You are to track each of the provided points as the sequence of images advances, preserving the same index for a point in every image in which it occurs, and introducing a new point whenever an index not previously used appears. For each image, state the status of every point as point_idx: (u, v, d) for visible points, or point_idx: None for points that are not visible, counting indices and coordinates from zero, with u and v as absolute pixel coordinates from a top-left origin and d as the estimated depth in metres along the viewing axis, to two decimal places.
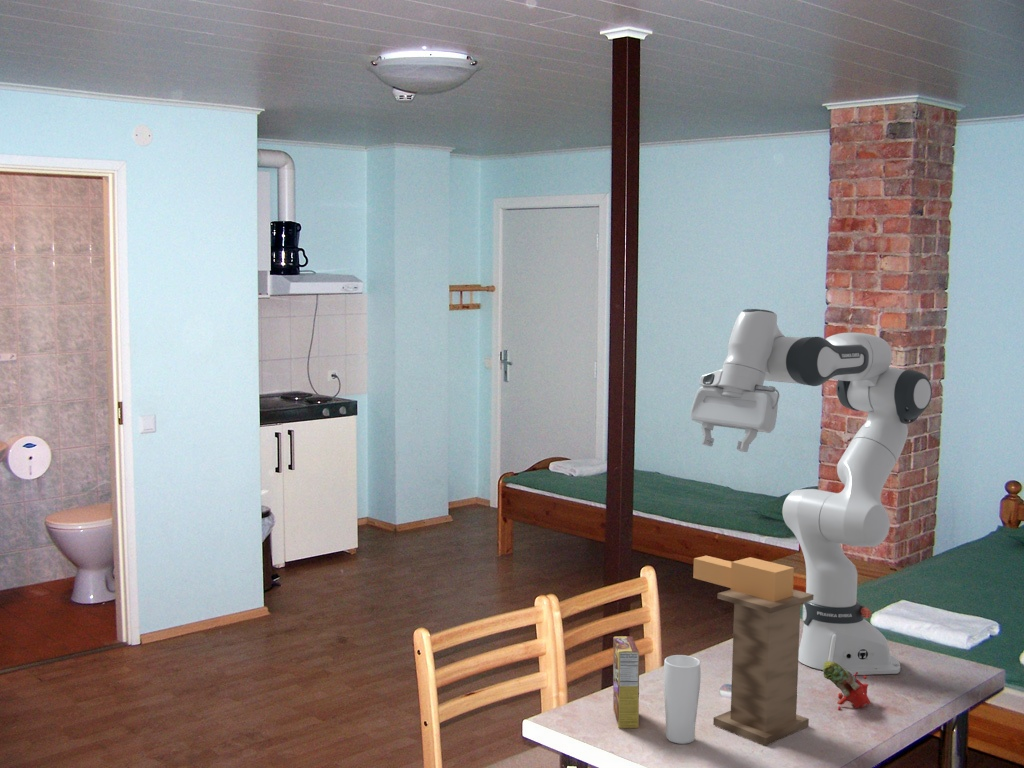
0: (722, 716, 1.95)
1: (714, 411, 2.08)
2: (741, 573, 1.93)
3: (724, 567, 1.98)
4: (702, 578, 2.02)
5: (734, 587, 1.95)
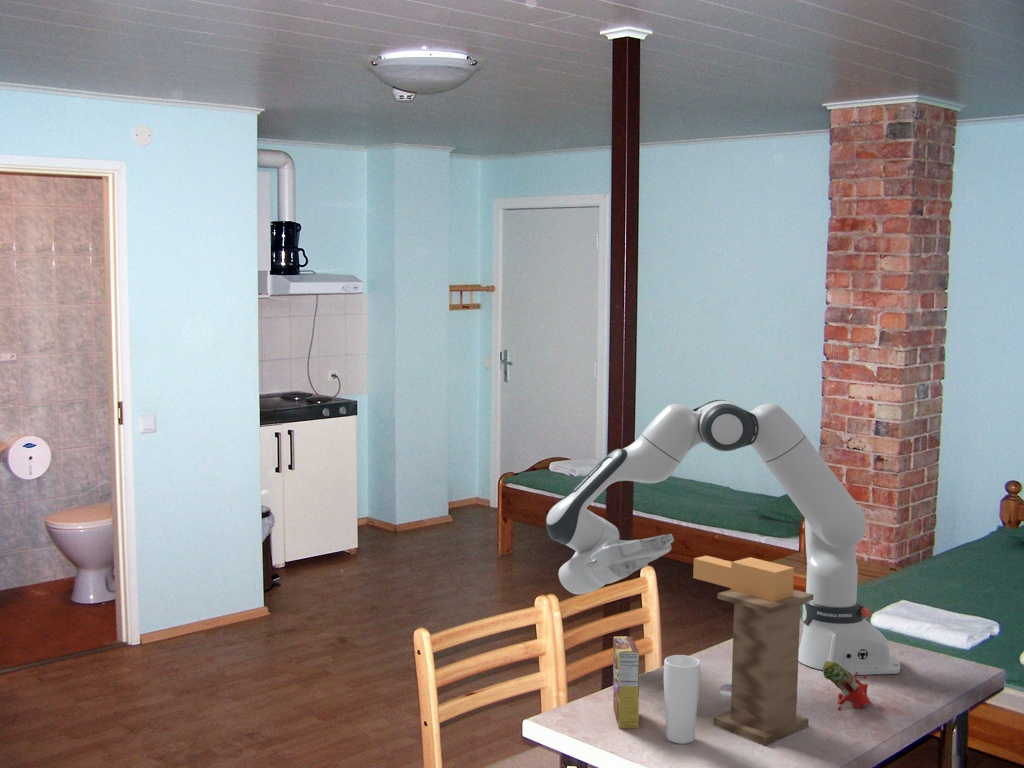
0: (722, 716, 1.95)
1: (647, 556, 2.21)
2: (741, 573, 1.93)
3: (724, 567, 1.98)
4: (702, 578, 2.02)
5: (734, 587, 1.95)
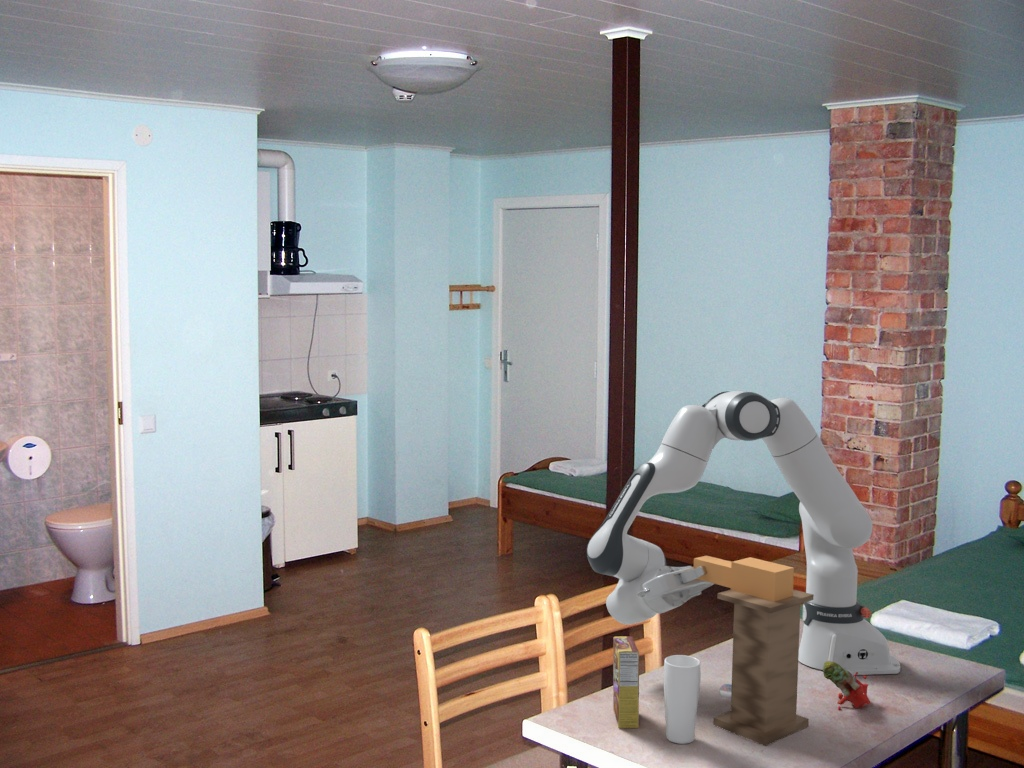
0: (722, 716, 1.95)
1: (702, 583, 2.09)
2: (741, 573, 1.93)
3: (724, 567, 1.98)
4: (702, 578, 2.02)
5: (734, 587, 1.95)
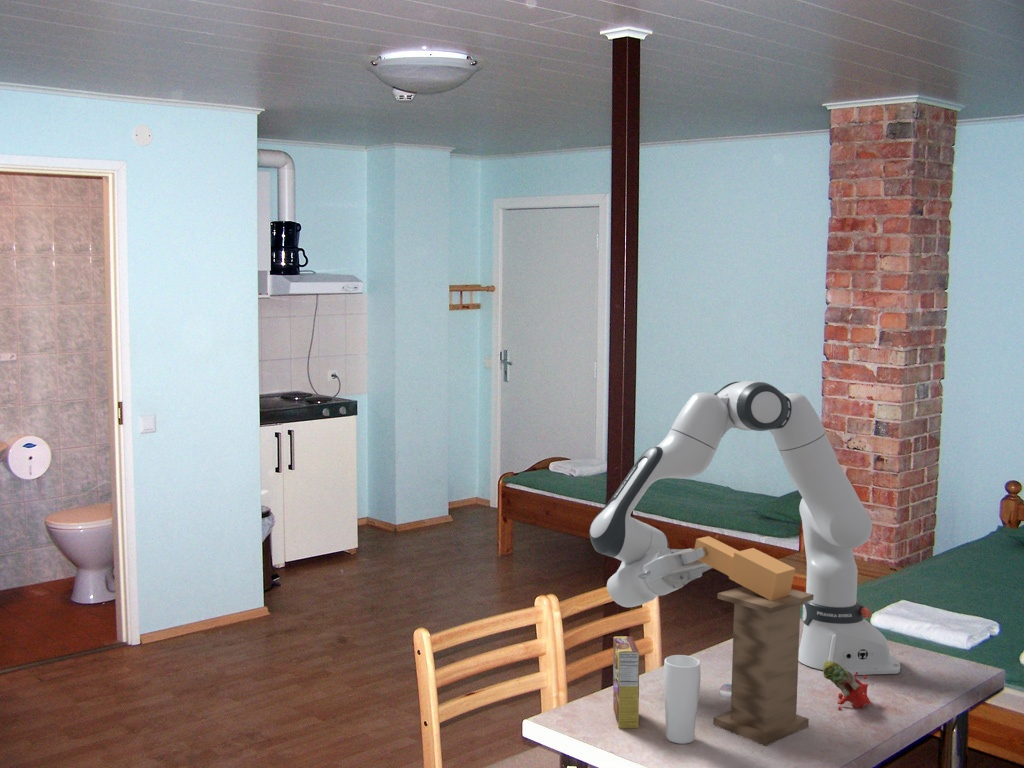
0: (722, 716, 1.95)
1: (703, 565, 2.08)
2: (743, 565, 1.93)
3: (726, 555, 1.97)
4: (701, 559, 2.02)
5: (733, 577, 1.95)
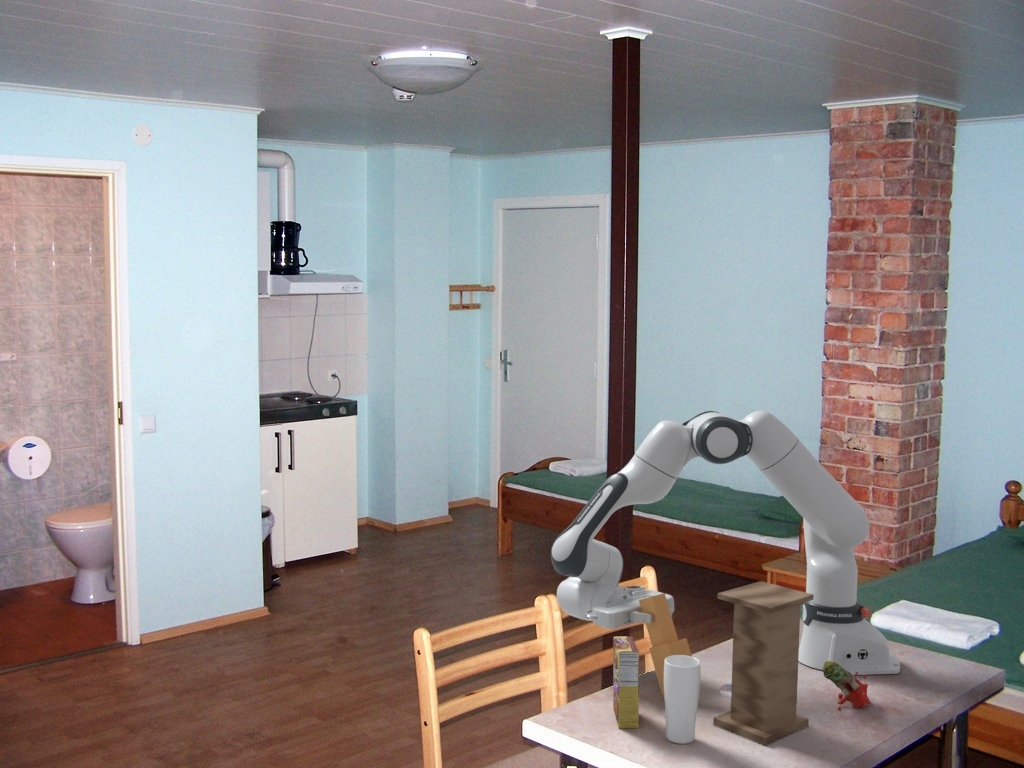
0: (722, 716, 1.95)
1: None
2: (665, 657, 2.08)
3: (661, 633, 2.10)
4: (643, 610, 2.14)
5: (652, 651, 2.11)
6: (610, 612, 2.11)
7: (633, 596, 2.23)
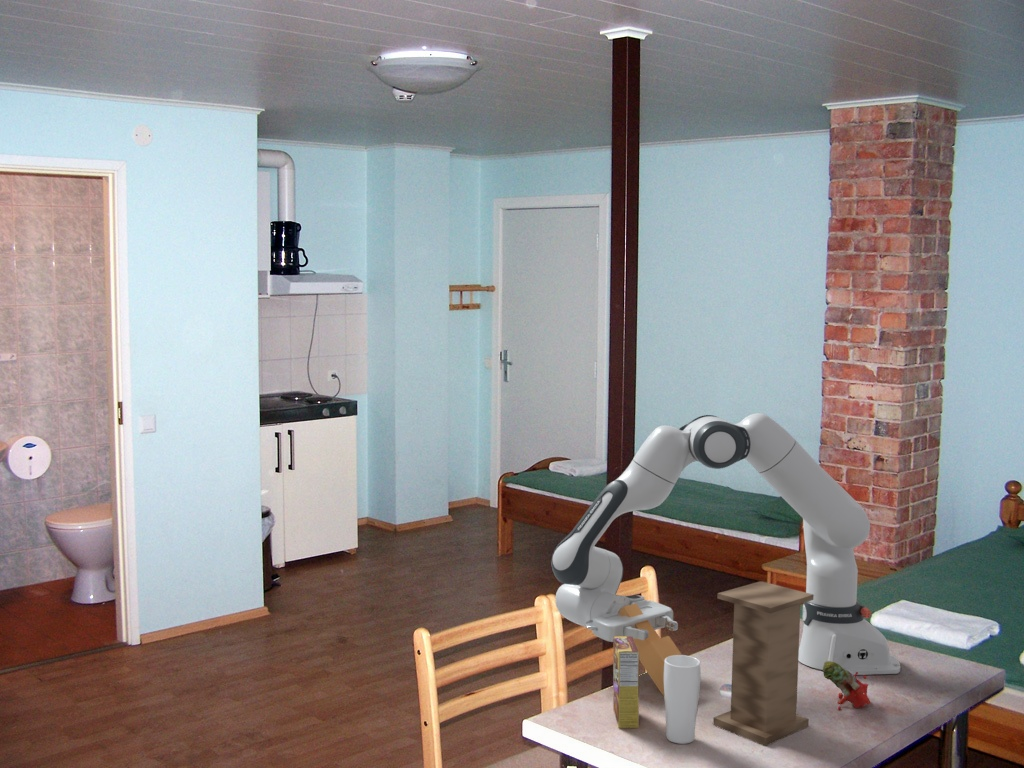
0: (722, 716, 1.95)
1: None
2: (652, 655, 2.11)
3: None
4: None
5: (640, 658, 2.13)
6: (611, 625, 2.11)
7: None
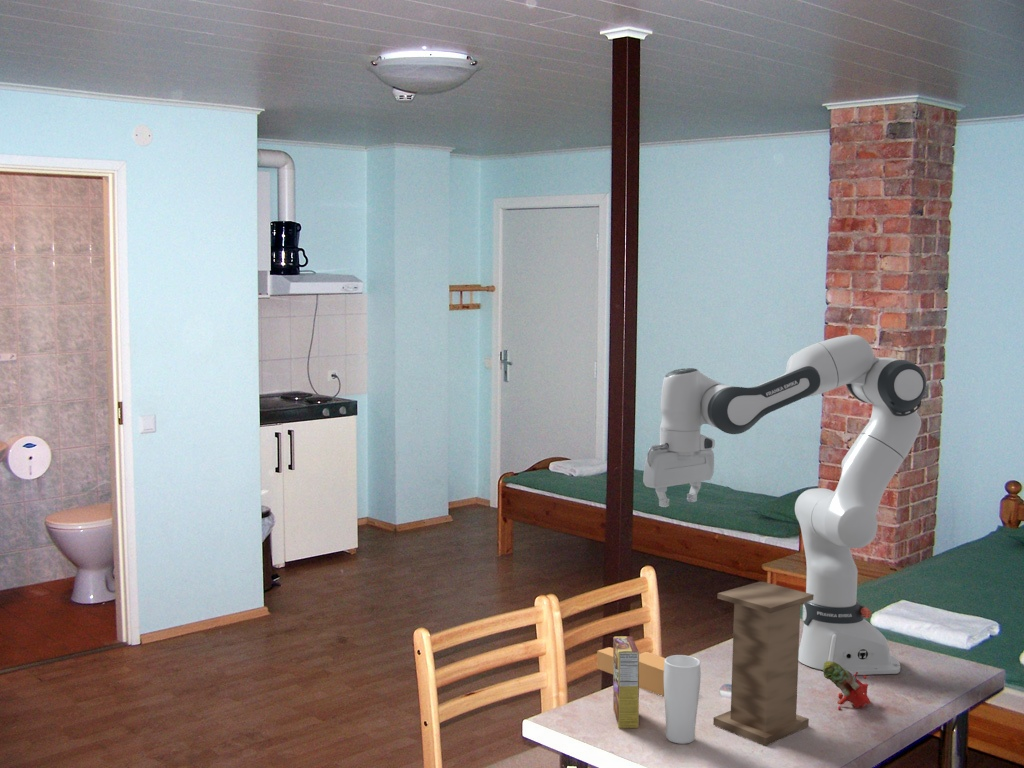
0: (722, 716, 1.95)
1: None
2: None
3: None
4: (604, 669, 2.23)
5: None
6: (656, 484, 2.15)
7: (695, 455, 2.23)
